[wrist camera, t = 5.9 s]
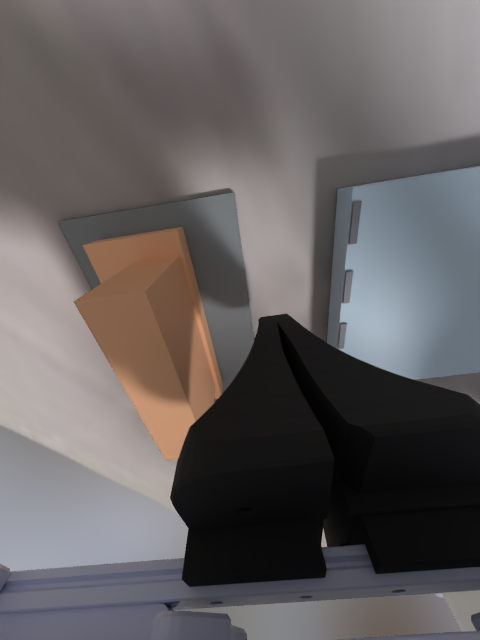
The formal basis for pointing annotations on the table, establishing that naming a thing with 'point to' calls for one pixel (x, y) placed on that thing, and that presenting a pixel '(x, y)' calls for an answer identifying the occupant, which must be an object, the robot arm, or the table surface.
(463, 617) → the tall white rectangular box
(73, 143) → the table surface
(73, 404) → the table surface
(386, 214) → the light blue notched panel
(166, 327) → the stub
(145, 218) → the pad
